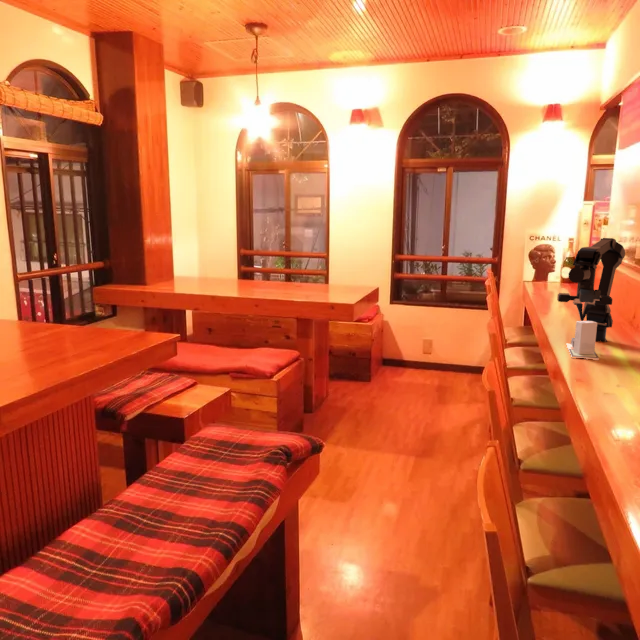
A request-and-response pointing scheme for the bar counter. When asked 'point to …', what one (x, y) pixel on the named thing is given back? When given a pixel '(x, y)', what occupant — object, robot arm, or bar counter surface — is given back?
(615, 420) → the bar counter surface
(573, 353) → the picture board
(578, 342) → the skincare box
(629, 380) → the bar counter surface
